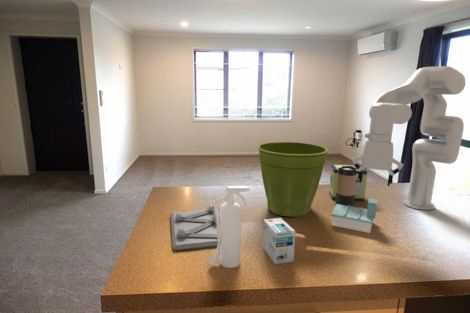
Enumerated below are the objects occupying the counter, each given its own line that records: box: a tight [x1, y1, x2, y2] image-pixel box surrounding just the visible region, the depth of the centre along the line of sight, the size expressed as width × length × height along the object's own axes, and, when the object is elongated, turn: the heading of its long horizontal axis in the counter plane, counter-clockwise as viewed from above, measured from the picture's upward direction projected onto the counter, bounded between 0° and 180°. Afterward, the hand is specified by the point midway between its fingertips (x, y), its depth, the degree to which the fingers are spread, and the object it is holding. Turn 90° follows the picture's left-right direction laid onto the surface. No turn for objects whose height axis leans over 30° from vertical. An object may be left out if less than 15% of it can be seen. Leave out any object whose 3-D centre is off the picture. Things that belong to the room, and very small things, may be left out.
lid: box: [330, 198, 378, 225], centre depth 121 cm, size 12×16×7 cm
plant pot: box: [257, 141, 329, 218], centre depth 136 cm, size 30×30×29 cm
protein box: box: [328, 164, 368, 202], centre depth 154 cm, size 10×16×16 cm
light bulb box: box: [262, 217, 296, 265], centre depth 100 cm, size 11×7×11 cm, turn 17°
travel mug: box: [334, 166, 357, 207], centre depth 135 cm, size 8×8×20 cm
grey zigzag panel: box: [170, 203, 220, 251], centre depth 118 cm, size 30×22×7 cm
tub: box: [331, 216, 373, 234], centre depth 122 cm, size 11×14×5 cm
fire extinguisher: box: [208, 185, 250, 269], centre depth 93 cm, size 7×12×25 cm, turn 112°
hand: (374, 183), depth 115 cm, fingers open, 9 cm apart
